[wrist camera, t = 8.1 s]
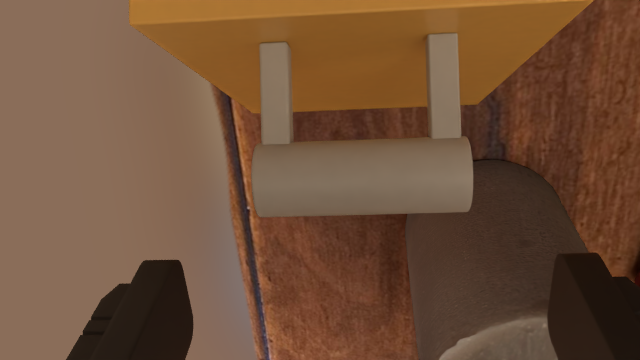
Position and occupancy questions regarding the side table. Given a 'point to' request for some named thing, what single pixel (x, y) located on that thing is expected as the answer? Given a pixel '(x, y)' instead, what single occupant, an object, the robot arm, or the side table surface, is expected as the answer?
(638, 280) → the toy car
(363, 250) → the side table surface
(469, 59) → the lid
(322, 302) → the side table surface
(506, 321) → the pillar candle
